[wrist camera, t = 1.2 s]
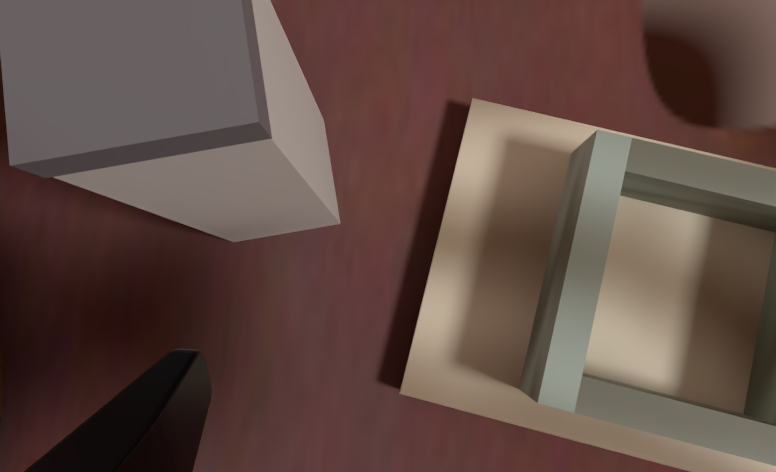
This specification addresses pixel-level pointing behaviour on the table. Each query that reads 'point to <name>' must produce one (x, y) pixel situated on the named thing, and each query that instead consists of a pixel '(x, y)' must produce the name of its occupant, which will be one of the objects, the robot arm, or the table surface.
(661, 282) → the end holder
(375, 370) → the table surface
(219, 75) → the connector plug
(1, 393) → the ceramic pitcher
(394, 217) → the table surface
